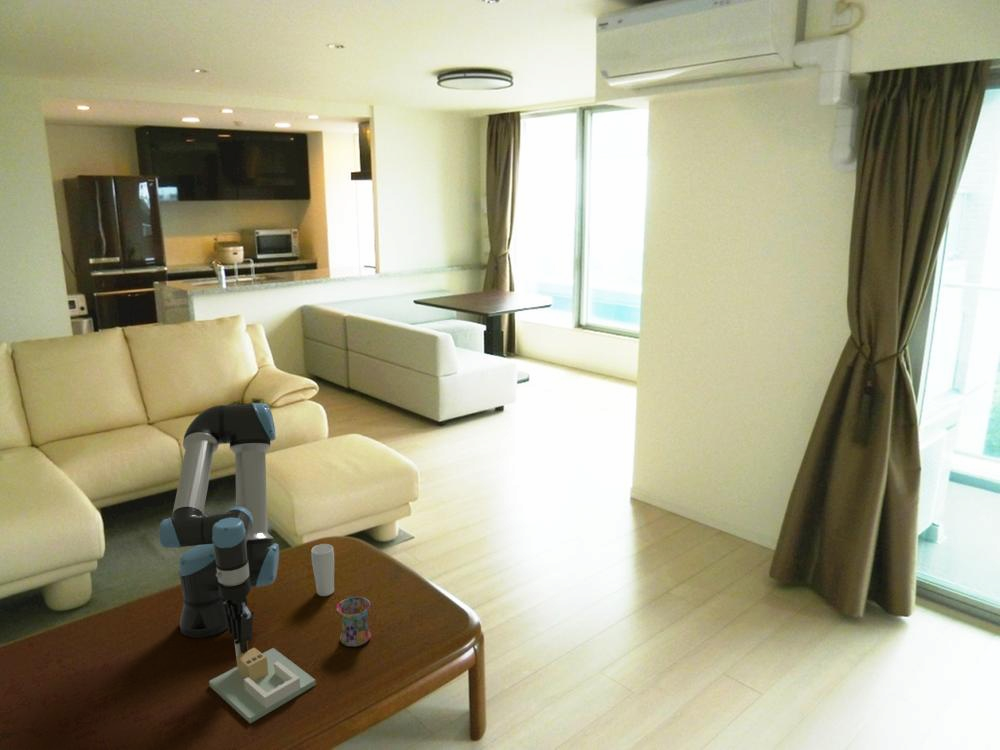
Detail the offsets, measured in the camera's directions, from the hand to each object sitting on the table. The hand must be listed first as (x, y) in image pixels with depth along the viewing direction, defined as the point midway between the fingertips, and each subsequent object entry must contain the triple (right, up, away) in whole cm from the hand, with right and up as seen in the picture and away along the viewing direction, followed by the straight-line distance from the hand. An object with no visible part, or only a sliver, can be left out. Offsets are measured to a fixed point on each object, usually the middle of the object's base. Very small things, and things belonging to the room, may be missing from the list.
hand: (243, 661), depth 182 cm
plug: (+4, -2, -3) cm, 5 cm away
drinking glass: (+12, +6, +37) cm, 40 cm away
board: (+7, -4, -5) cm, 9 cm away
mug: (+26, +1, +15) cm, 30 cm away
